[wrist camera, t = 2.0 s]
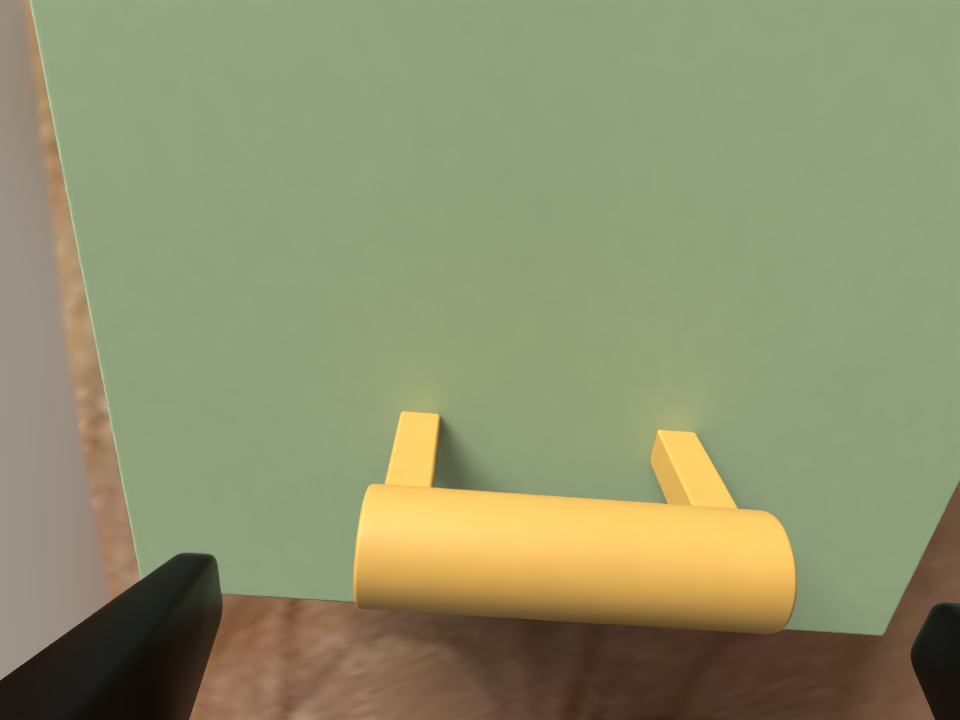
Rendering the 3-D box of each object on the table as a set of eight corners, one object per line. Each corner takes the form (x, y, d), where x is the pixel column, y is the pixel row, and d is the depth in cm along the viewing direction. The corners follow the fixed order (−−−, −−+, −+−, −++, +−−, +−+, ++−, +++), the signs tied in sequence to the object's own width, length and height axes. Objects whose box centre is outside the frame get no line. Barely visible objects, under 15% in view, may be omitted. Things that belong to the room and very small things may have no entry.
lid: (865, 610, 14) (1022, 836, 10) (157, 565, 14) (17, 784, 9) (1180, -60, 9) (1793, -162, 5) (26, -179, 8) (-422, -410, 4)
